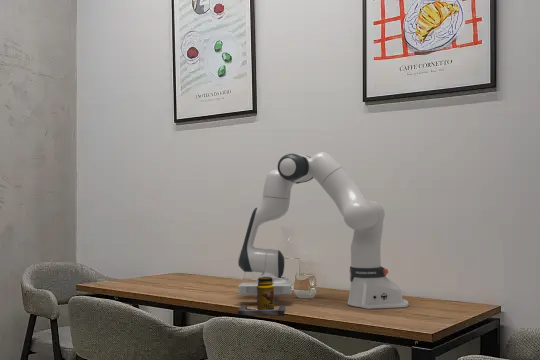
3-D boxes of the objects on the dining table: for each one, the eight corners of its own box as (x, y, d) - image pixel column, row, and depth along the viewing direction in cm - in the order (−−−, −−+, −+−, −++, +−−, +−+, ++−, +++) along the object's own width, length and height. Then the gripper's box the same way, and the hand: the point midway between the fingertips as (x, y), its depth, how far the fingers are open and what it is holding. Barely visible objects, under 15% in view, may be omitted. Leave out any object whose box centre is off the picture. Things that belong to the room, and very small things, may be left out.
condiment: (273, 313, 220) (273, 279, 221) (250, 312, 222) (249, 279, 222) (276, 309, 228) (275, 276, 228) (253, 309, 229) (253, 276, 229)
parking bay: (285, 309, 226) (285, 305, 226) (283, 315, 216) (283, 310, 216) (241, 309, 228) (241, 305, 228) (238, 315, 218) (238, 310, 218)
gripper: (240, 278, 244) (235, 283, 230) (292, 277, 242) (290, 283, 228) (240, 294, 244) (235, 300, 230) (292, 294, 242) (291, 300, 228)
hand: (263, 292), depth 229 cm, fingers closed
